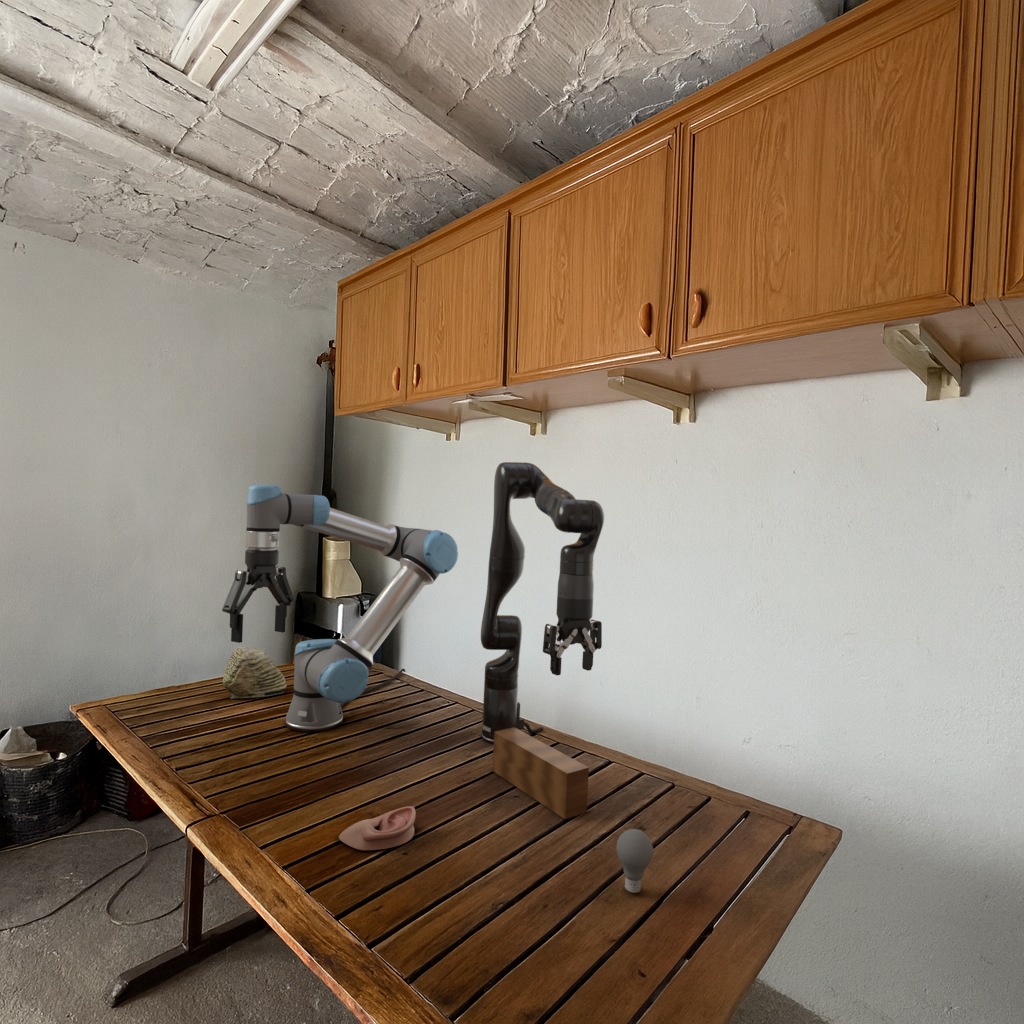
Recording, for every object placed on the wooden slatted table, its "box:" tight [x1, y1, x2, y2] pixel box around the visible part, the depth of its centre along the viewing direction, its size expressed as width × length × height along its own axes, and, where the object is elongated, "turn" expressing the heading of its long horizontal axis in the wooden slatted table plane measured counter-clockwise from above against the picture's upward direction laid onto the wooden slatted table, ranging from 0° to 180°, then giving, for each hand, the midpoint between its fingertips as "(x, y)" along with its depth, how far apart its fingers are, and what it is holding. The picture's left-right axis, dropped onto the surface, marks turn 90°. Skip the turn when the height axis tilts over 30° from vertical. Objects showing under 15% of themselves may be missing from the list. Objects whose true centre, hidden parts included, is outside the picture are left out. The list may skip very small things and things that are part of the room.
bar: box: [492, 727, 590, 820], centre depth 141 cm, size 26×6×10 cm, turn 36°
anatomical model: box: [338, 805, 417, 851], centre depth 119 cm, size 13×4×12 cm
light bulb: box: [615, 828, 654, 894], centre depth 106 cm, size 6×6×10 cm
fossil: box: [222, 646, 288, 699], centre depth 198 cm, size 9×18×15 cm, turn 132°
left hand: (259, 636), depth 153 cm, fingers open, 13 cm apart
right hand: (571, 672), depth 133 cm, fingers open, 8 cm apart
